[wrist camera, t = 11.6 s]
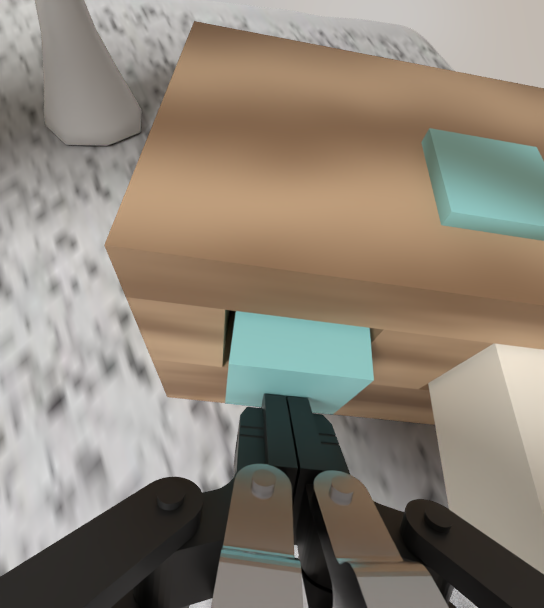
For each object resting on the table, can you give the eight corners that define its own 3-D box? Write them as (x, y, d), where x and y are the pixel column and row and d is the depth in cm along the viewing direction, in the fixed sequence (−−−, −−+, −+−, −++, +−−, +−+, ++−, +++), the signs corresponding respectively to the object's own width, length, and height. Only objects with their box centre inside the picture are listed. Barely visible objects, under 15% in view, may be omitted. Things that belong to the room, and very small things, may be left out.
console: (629, 445, 20) (1094, 369, 10) (167, 397, 18) (97, 229, 7) (561, 285, 26) (805, 125, 15) (203, 233, 24) (193, 5, 13)
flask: (37, 100, 28) (-41, -78, 20) (129, 88, 31) (96, -75, 22) (56, 158, 25) (-24, -21, 17) (156, 140, 28) (130, -25, 19)
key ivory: (575, 581, 12) (727, 611, 8) (459, 573, 11) (567, 601, 8) (496, 313, 17) (569, 262, 13) (415, 302, 16) (467, 247, 13)
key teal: (332, 414, 13) (373, 380, 10) (225, 403, 13) (228, 363, 9) (328, 217, 18) (354, 150, 15) (251, 206, 18) (260, 134, 15)
